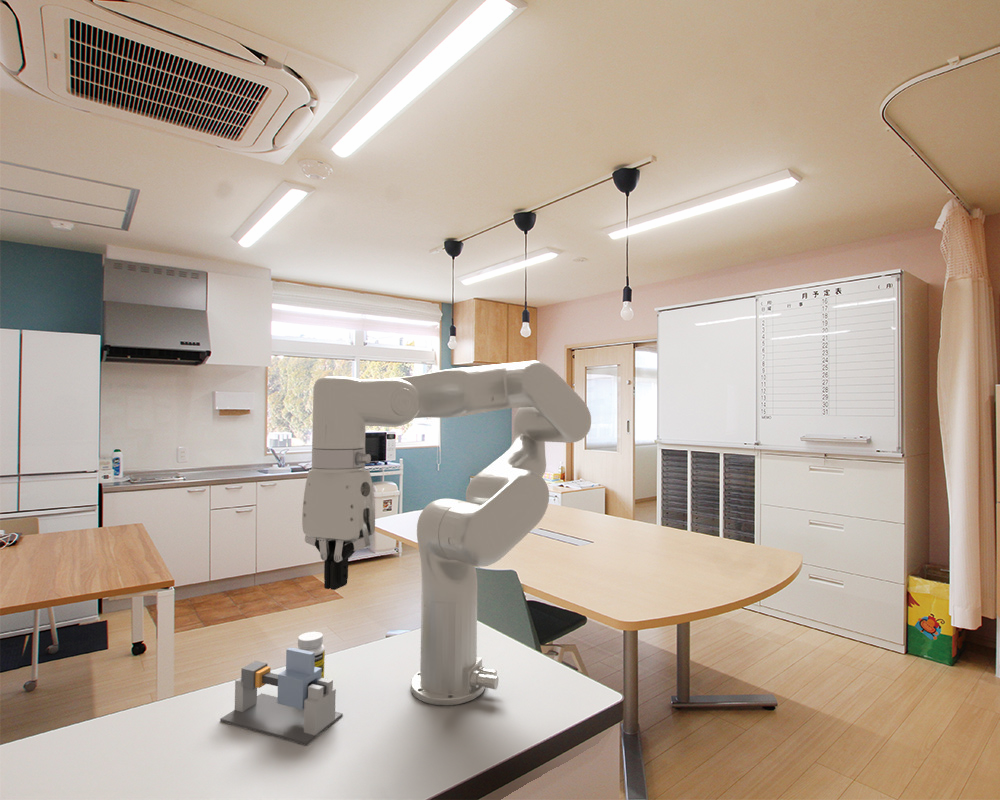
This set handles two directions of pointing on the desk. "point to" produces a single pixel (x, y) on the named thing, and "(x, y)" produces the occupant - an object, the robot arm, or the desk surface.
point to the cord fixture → (281, 707)
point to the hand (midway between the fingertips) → (335, 586)
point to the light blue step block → (297, 677)
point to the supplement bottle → (313, 647)
